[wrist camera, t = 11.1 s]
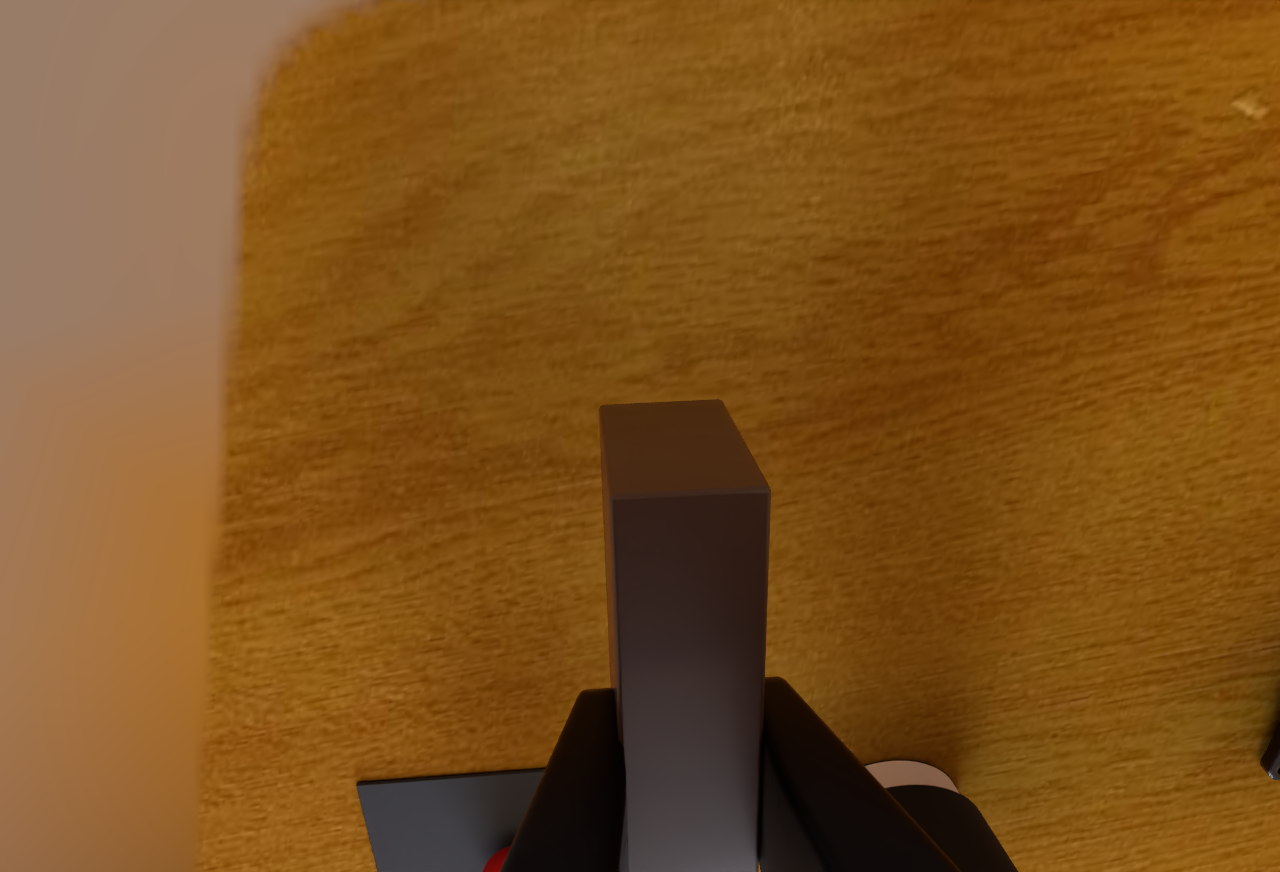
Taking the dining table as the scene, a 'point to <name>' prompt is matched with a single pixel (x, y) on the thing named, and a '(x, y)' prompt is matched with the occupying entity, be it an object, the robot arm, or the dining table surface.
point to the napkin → (445, 819)
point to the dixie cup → (944, 815)
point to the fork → (686, 630)
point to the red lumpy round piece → (496, 861)
